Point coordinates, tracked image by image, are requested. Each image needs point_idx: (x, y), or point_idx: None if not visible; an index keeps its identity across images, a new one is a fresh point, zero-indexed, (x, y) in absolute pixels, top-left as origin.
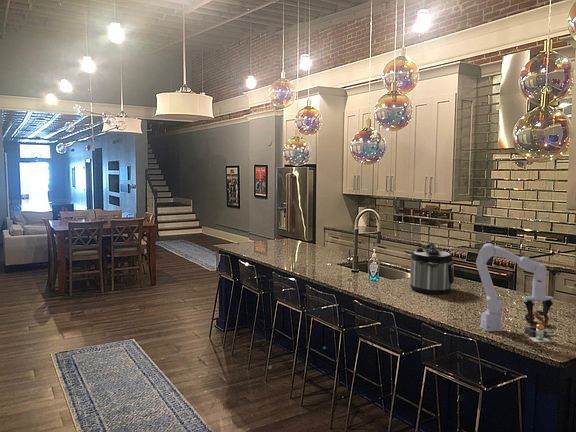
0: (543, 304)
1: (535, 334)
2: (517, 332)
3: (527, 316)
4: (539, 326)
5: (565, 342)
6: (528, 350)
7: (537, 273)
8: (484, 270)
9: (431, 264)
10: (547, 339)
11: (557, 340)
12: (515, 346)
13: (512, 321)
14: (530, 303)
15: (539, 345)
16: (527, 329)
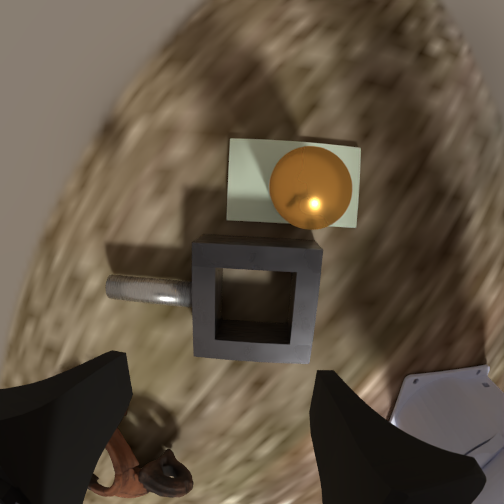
0: (78, 485)
1: (294, 243)
2: (344, 352)
3: (182, 480)
4: (338, 159)
5: (135, 124)
6: (460, 53)
7: None
8: None
9: None
10: (234, 173)
11: (162, 165)
12: (496, 123)
13: (241, 485)
14: (478, 480)
15: (361, 92)
16: (313, 324)
